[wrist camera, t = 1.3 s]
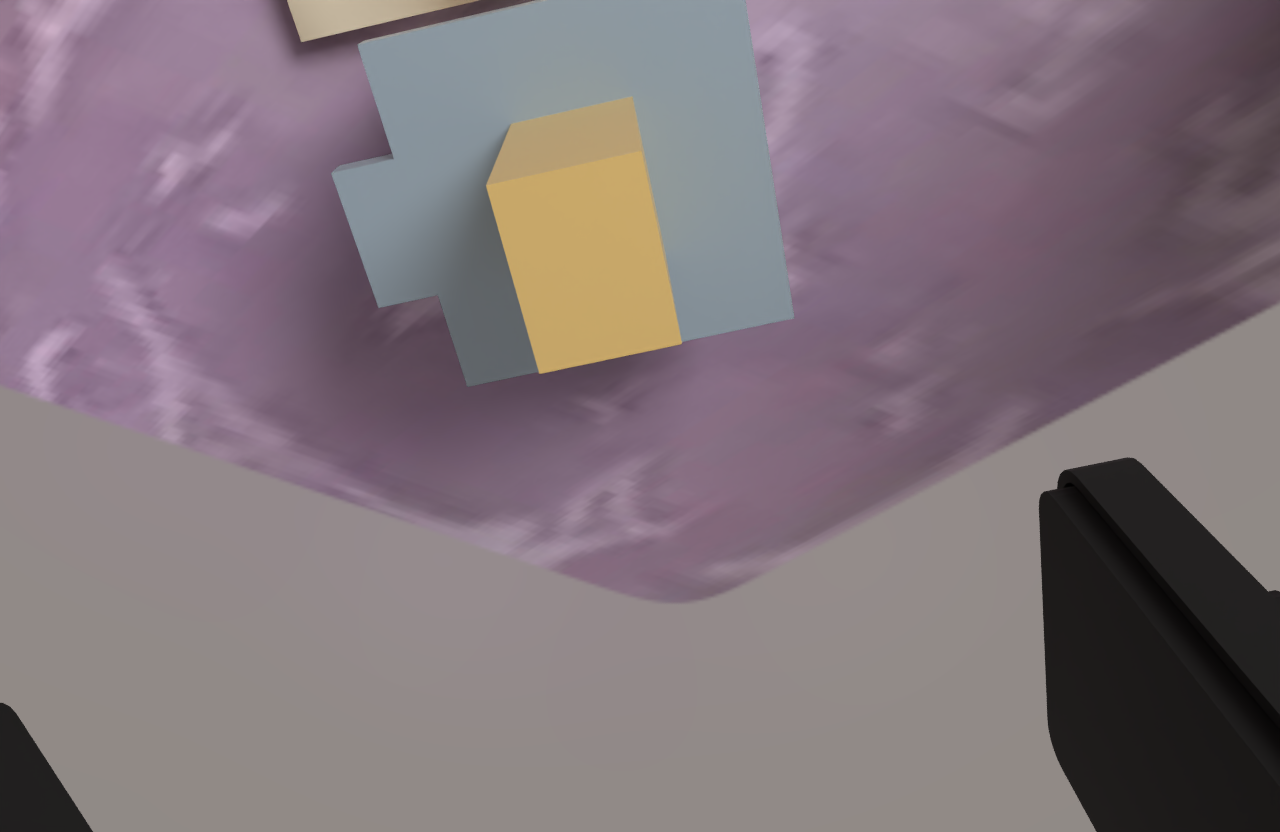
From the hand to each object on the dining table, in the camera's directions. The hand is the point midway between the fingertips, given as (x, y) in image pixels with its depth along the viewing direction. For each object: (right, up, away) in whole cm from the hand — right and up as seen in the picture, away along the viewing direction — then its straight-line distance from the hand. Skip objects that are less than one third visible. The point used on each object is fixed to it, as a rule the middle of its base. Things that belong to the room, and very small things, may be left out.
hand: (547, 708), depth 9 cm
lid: (0, +9, +17) cm, 19 cm away
